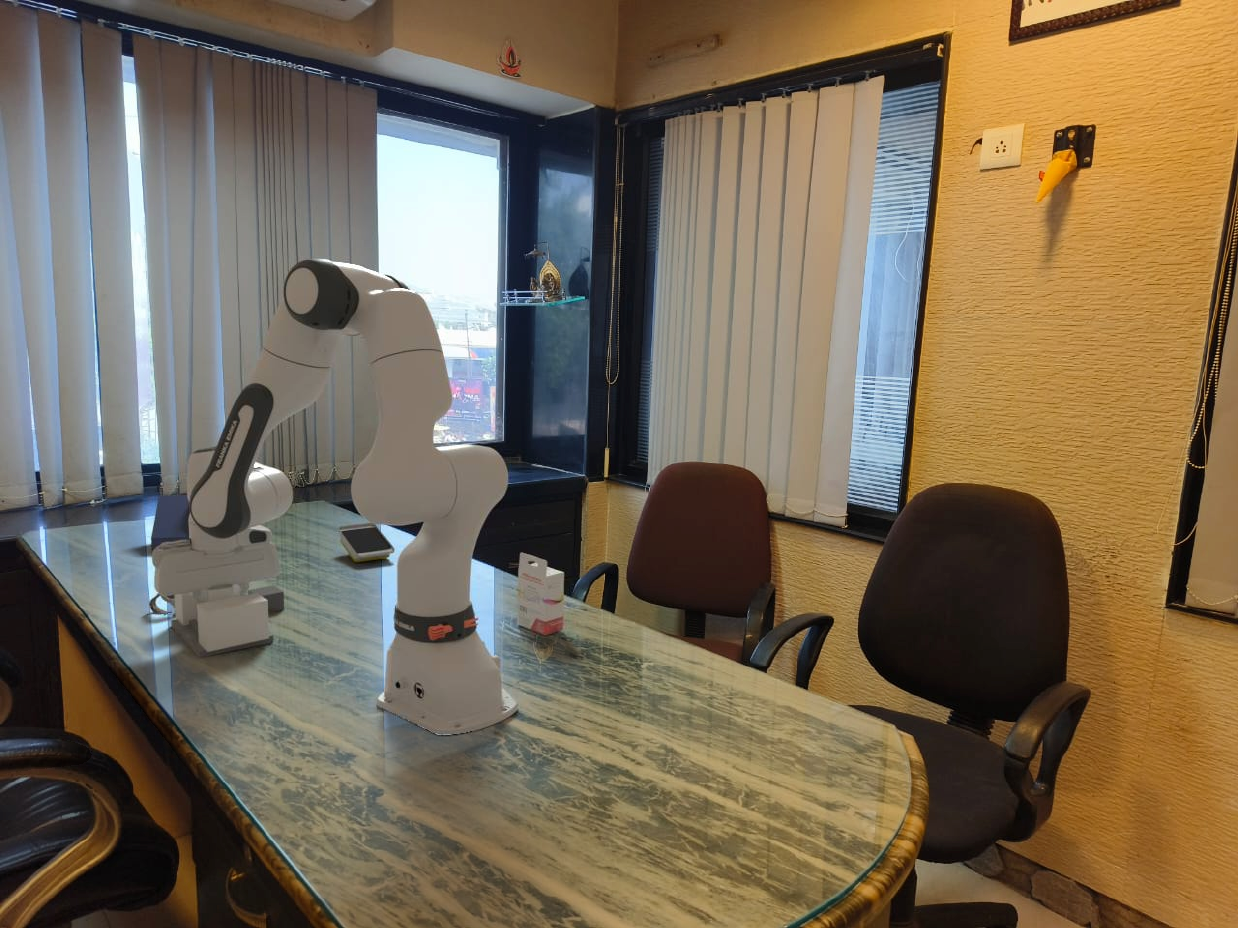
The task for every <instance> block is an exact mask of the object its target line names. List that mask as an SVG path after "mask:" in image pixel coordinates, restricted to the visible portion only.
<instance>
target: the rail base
mask: <svg viewBox="0 0 1238 928" xmlns="http://www.w3.org/2000/svg"><path fill="white" fill-rule="evenodd" d="M233 587H234V596H235V595H236V594H237V592H238V590H239V588H240V587H239V586H238V585H237V584H235V585H233ZM198 598H199V599H200V600H201V602H202V601H206V590H201V596H198ZM175 613H176V615H175V619H171V621H170V623H171V626H170V627H171V628H172V629H173V628H174V629H175V630H174V629H173V630H174V631H175V632H176V633H177V635H179V637H180V638H181V639H182V641H184V642H185V643H186V645H188V646H189V648H190V649H191V650H192V651H193V652H194V654H196V656H198V657H199V658H205V657H209V656H214V655H219V654H223V653H229V652H233V651H238V650H243V649H247V648H252V647H256V646H262V645H266V644H271V643H274V641H273V640H274V638H273V637H274V636H273V634H272V633H271V632H270V631H269V630H270V629H269V626H270V625H269V613H268V600H266V599H265V598H264V597H263V596H261V595H260V594H259V593H255V594H249V595H248V594H245V595H244V596H238V597H233V598H227V599H222V600H216V601H211V602H206V603H200V604H197V603H196V602H195V601H194V599H193V598H192V597H191V596H190V594H189V592H188V593H183V594H177V595H175V608H174V614H175Z"/></svg>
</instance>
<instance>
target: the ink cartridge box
mask: <svg viewBox="0 0 1238 928" xmlns="http://www.w3.org/2000/svg"><path fill="white" fill-rule="evenodd" d="M529 562H533V563H531V564H530V563H529ZM518 563H519V564H518V570H517V571H518V573H517V575H518V578H517V622H516V623H517V625H518V626H522V627H524V628H526V629H528V630H531V631H533V632H535V633H537V634H540V635H542V636H548V635H550V634H554V633H557V632H560V631H563V628H564V596H565V595H564V591H565V588H564V585H565V584H564V583H565V572H564V571H561V570H557V569H555V568H552V567H549V566H548V561H547V560H546V559H543V558H539V557H538V556H534V555H531V554H529V553H528V554H527V553H524V552H520V553H519V562H518Z"/></svg>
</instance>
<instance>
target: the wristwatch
mask: <svg viewBox="0 0 1238 928" xmlns="http://www.w3.org/2000/svg"><path fill="white" fill-rule="evenodd" d="M159 598H161V600H163V601H164V602H166V603H169V604H170V605H171V606H173V608H174V609H175V595H171V596H162V595H160V594H159V593H158V592H157V593H156V595H155V596H153V597H152V598H151V599H150V600H149V603H148V606H149V608H150V610H151V611H152V613H153V614H154V613H156V614H155V615H161V614H164V615H163V616H167V615H169V614H168V613H170V614H171V613H172V611H171V610H169V611H166V610H164V609H162V608H160V607H158V605H157V599H159ZM166 614H167V615H166ZM172 617H176V613H175V612H174V613H173V614H172Z"/></svg>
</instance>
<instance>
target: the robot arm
mask: <svg viewBox="0 0 1238 928" xmlns="http://www.w3.org/2000/svg"><path fill="white" fill-rule="evenodd" d="M347 336H348V337H354V338H363V340H364V342H365V344H366V348H367V352H368V353H367V354H368V359H369V364H370V368H371V369H370V370H371V373H372V378H373V384H374V389H375V395H376V402H377V408H378V423H377V424H378V425H377V431H376V435H375V439H374V441H373V444H372V447H371V449H370V451H369V453H368V454H367V455H366V456H365V458H364V459H363V460H362V461H360V463H359V464H358V466H357V467H356V469H355V471H354V473H353V475H352V478H351V479H352V480H351V486H350V489H351V490H350V491H351V492H350V493H351V499H352V502H353V505H354V507H355V509H356V510H357V512H358V513H359V514H360V515H361V517H362V518H363V519H364V520H366V521H367V523H372V524H375V525H383V526H406V525H412V524H417V523H422V522H423V524H422V526H421V528H420V530H419V532H418V534H417V535H416V536H415V538H413V540H412V541H410V542H409V544H407V546H405V547H404V548H403V549H402V550H401V553H399V556H398V558H397V564H396V585H397V586H396V589H397V590H396V595H397V597H396V600H397V601H396V604H395V605H394V611H393V622H394V623H393V626H394V627H393V628H394V629H393V630H395V635H394V638H393V640H392V642H391V644H390V646H389V647H388V650H386V651H387V652H386V662H385V663H386V664H385V676H384V689H383V690H384V691H383V692H382V693H380V694H379V695H378V696H377V699H376V706H377V707H378V708H381V709H382V708H383V709H382V710H384V709H385V711H386V710H387V712H388V711H389V713H390V712H392V713H391V714H393V713H394V714H393V715H395V714H396V715H395V716H397V715H399V716H401V717H403V718H404V719H403V718H402V719H403V720H405V719H407V720H409V721H411V722H413V723H415V724H417V725H419V726H421V727H424V728H426V729H427V730H430V731H432V732H434V733H437V734H441V735H443V734H458V735H461V734H460V733H464V734H467V733H466V732H468V733H471V732H470V731H472V732H475V731H478V730H481V729H485V728H487V727H490V726H492V725H495V724H497V723H501V722H502V721H504V720H506V719H508V718H509V717H511V716H512V715H513V714H515V713H516V712H517V711H518V708H519V706H518V702H517V700H515V699H514V697H513V696H511V694H510V693H508V691H506V689H505V688H504V687H503V686H502V685H503V684H502V675H501V670H500V669H501V660H500V657H499V656H498V655H496V654H494V655H491V653H490V652H489V649H488V648H487V646H486V643H485V641H483V639H482V638H481V637H480V635H479V633H478V632H477V627H478V625H479V623H477V622H476V621H478V620H479V618H478V617H476V613H475V611H474V608H473V604H472V601H471V573H472V572H471V571H472V559H473V553H474V550H475V546H476V543H477V539H478V537H479V534H480V531H481V529H482V528H483V525H484V524H485V521H486V519H487V517H488V516H489V514H490V512H491V511H492V510H493V508H495V506H496V505H497V504H498V503H499V502H500V501H501V500H502V499H503V497H504V496H505V494H506V491H507V490H508V486H509V485H508V484H509V472H508V468H507V464H506V461H505V460H504V458H503V456H502V455H500V453H499V452H498V451H497V450H495V448H492V447H490V446H484V445H477V444H469V443H462V444H451V445H442V446H435V441H434V431H435V425H436V423H437V422H439V421H440V420H441V419H442V418H443V417H444V416H445V415H446V414H447V413H448V412H449V410H450V409H451V407H452V405H453V393H452V387H451V383H450V379H449V373H448V369H447V368H448V367H447V365H446V361H445V355H444V350H443V348H442V343H441V339H440V336H439V332H438V330H437V326H436V324H435V321H434V319H433V317H432V314H431V311H430V309H429V307H428V305H427V302H426V301H425V299H424V298H423V297H422V296H421V295H420V294H419V293H417V292H415V291H413V290H411V289H410V288H409V287H408V286H407V284H405V283H404V282H403V281H401V280H400V279H397V278H396V277H393V276H391V275H389V274H382V273H379V272H377V271H374V270H371V269H367V268H365V267H363V266H361V265H356V264H351V263H347V262H346V263H345V262H338V261H331V260H329V259H325V258H311V259H304V260H300V261H299V262H297V263H295V264H294V265H293V266H292V267H291V269H290V270H289V271H288V273H287V275H286V278H285V281H284V286H283V297H282V298H281V301H280V303H279V304H278V306H277V308H276V310H275V312H274V314H273V317H272V319H271V322H270V324H269V326H268V329H267V332H266V336H265V339H264V342H263V346H262V348H261V352H260V355H259V358H258V360H257V362H256V365H255V368H254V370H253V373H252V374H251V376H250V379H248V380H247V383H246V385H245V386H244V388H243V389H242V390H241V392H240V393H239V395H238V396H237V398H236V400H235V402H234V404H233V405H232V407H231V410H230V412H229V414H228V416H227V420H226V422H225V424H224V427H223V429H222V432H221V434H220V437H219V439H218V442H217V444H216V446H212V447H206V448H201V449H199V448H198V449H197V450H194V451H193V452H192V453H191V454H190V455H189V458H188V461H187V467H186V495H187V498H188V501H189V508H190V515H189V519H188V521H189V539H185V540H179V541H175V542H164V543H161V545H159V546H157V547H156V548H155V549H154V550H153V552H152V551H151V562H152V566H153V567H154V575H153V577H154V578H153V581H154V582H153V584H154V585H153V586H154V587H153V588H154V589H155V591H156V592H157V594H158V593H159V594H160V595H162V596H171V595H177V594H183V593H188V592H189V594H190V596H191V597H192V598H193V599H194V601H195V602H196V603H197V604H200V603H206V601H202V602H201V600H200V599H199V598H198V596H201V590H206V589H211V587H215V586H222V585H228V584H230V585H235V584H237V585H238V586H239V587H240V588H239V590H238V592H237V594H236V595H235V596H234V597H238V596H244V595H247V594H246V593H248V590H249V588H250V582H257V581H258V582H259V581H262V580H269V579H274V578H276V577H277V576H278V575H279V573H280V560H279V554H278V550H277V549H278V548H277V547H276V545H275V544H274V543H273V542H272V540H273V536H274V535H273V532H272V530H271V529H269V528H268V527H266V526H264V525H262V524H264V523H267V522H269V521H272V520H275V519H278V518H280V517H281V516H283V515H285V514H286V513H288V511H290V509H291V507H292V505H293V502H294V497H295V495H294V494H295V493H294V487H293V484H292V481H291V480H290V478H289V476H287V474H286V473H285V472H284V471H283V470H281V469H279V468H277V467H273V466H269V465H265V464H263V463H261V462H258V461H257V459H258V458H259V455H260V452H261V449H262V447H263V445H264V442H265V440H266V438H267V437H268V436H269V434H270V433H271V432H272V431H273V430H274V429H275V428H276V427H277V426H279V425H280V424H281V423H282V422H283V421H285V420H287V419H289V418H290V417H292V416H294V415H295V414H297V413H299V412H301V411H303V410H305V409H306V408H308V407H310V406H311V405H313V404H314V403H315V402H317V400H319V398H320V396H321V395H322V393H323V391H324V389H325V388H326V385H327V383H328V381H329V378H330V374H331V370H332V367H333V364H334V360H335V356H336V352H337V348H338V347H339V343H340V342H341V341H342V340H343V338H345V337H347ZM159 548H162V549H159ZM399 716H398V717H399ZM401 717H400V718H401ZM407 720H406V721H407ZM409 721H408V722H409ZM411 722H410V723H411ZM413 723H412V724H413ZM415 724H414V725H415ZM417 725H416V726H417ZM419 726H418V727H419ZM421 727H420V728H421ZM427 730H426V731H427Z"/></svg>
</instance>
